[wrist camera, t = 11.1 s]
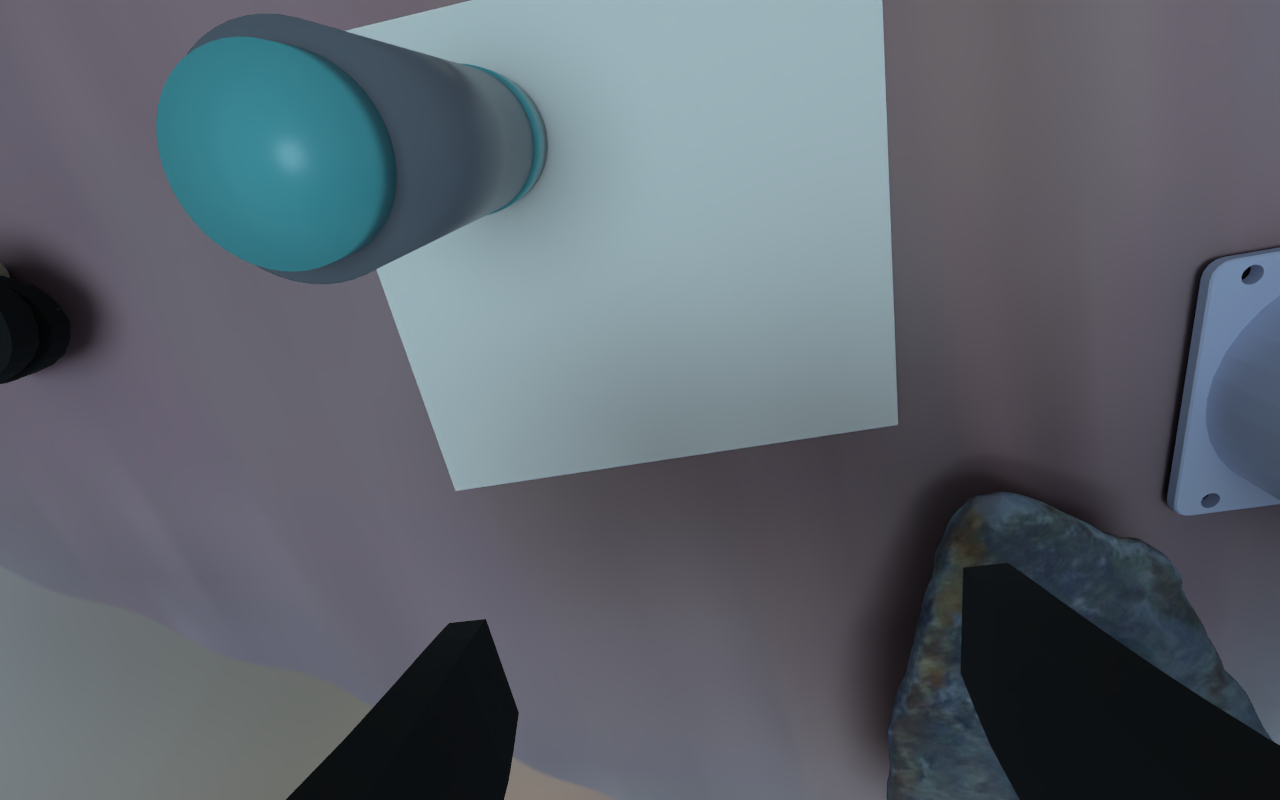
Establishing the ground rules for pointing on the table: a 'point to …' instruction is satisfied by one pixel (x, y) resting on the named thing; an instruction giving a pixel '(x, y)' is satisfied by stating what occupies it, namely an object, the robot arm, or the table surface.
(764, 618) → the table surface
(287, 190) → the marker
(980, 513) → the rock
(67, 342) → the toy
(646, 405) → the paper
